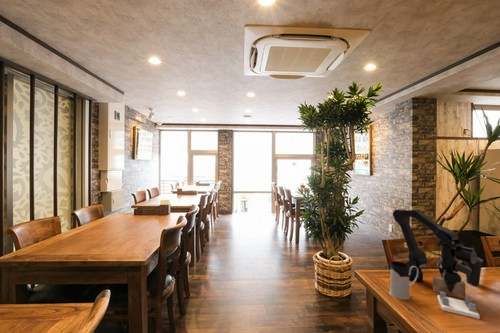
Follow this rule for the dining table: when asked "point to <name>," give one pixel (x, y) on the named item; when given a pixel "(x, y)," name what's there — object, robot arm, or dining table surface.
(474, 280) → the drinking cup
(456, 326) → the dining table surface
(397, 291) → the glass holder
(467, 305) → the side panel
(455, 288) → the door
